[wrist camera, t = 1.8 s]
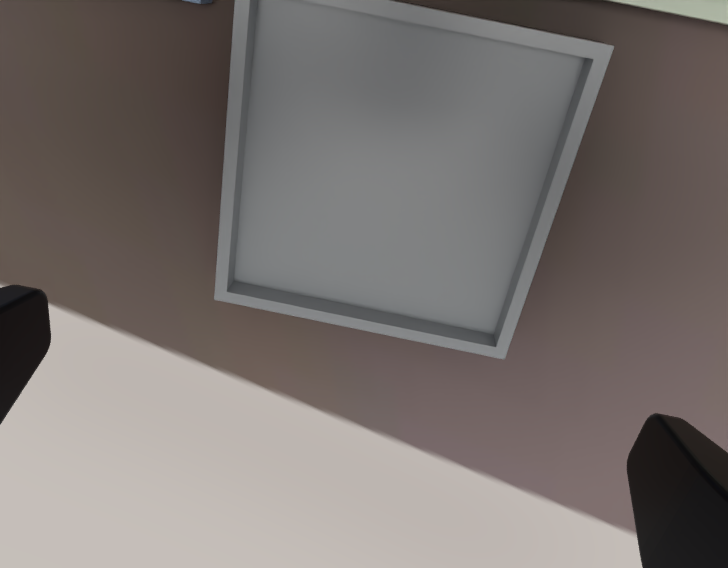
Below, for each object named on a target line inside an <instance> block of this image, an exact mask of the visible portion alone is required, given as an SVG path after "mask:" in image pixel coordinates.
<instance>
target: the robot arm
mask: <svg viewBox="0 0 728 568" xmlns="http://www.w3.org/2000/svg"><path fill="white" fill-rule="evenodd" d="M50 342H51V331H50V320H49V309H48V300H47V296H46V294H45V293H44V292H43V291H42V290H40V289H36V288H31V287H26V286H21V285H10V286H6V287H2V288H0V424H1V423H2V421H3V420H4V418H5V417H6V415H7V413H8V412H9V411H10V409H11V407H12V406H13V404H14V403H15V401H16V400H17V398H18V397H19V395H20V394H21V392H22V390H23V389H24V387H25V386H26V384H27V383H28V381H29V380H30V378H31V377H32V375H33V373H34V372H35V370H36V369H37V367H38V366H39V364H40V363H41V361H42V360H43V358H44V357H45V355H46V353H47V351H48V349H49V346H50ZM627 475H628V481H629V488H630V494H631V500H632V507H633V513H634V519H635V526H636V532H637V538H638V545H639V551H640V556H641V562H642V567H643V568H728V453H727V452H726V451H725V450H723V449H722V448H721V447H719V446H718V445H717V444H715V443H714V442H713V441H711V440H710V439H709V438H707V437H706V436H705V435H704V434H702V433H701V432H700V431H698V430H697V429H696V428H694V427H693V426H692V425H690V424H689V423H688V422H686V421H685V420H683V419H681V418H678V417H673V416H668V415H663V414H658V413H655V414H653V415H650V416H649V417H648V418H647V420H646V421H645V423H644V425H643V427H642V429H641V431H640V433H639V435H638V437H637V439H636V441H635V443H634V445H633V447H632V449H631V451H630V453H629V456H628V460H627Z"/></svg>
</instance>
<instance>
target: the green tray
mask: <svg viewBox="0 0 728 568" xmlns="http://www.w3.org/2000/svg"><path fill="white" fill-rule="evenodd" d="M604 1H609V2H614V3H619V4H624V5H629V6H634V7H639V8H644V9H649V10H654V11H659V12H664V13H669V14H674V15H679V16H684V17H689V18H694V19H699V20H704V21H709V22H714V23H719V24H723V25H728V0H604Z"/></svg>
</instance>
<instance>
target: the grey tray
mask: <svg viewBox="0 0 728 568" xmlns="http://www.w3.org/2000/svg"><path fill="white" fill-rule="evenodd" d="M613 49H614V46H613V45H610V44H607V43H604V42H599V41H594V40H589V39H584V38H580V37H575V36H570V35H565V34H560V33H555V32H550V31H545V30H540V29H535V28H530V27H525V26H520V25H515V24H510V23H505V22H500V21H495V20H490V19H485V18H481V17H476V16H471V15H466V14H461V13H456V12H451V11H446V10H441V9H436V8H431V7H426V6H421V5H416V4H411V3H406V2H401V1H396V0H235V5H234V19H233V34H232V49H231V63H230V78H229V92H228V107H227V121H226V136H225V150H224V165H223V179H222V194H221V208H220V223H219V237H218V252H217V266H216V281H215V295H214V300H219V301H223V302H228V303H233V304H238V305H243V306H248V307H253V308H257V309H262V310H267V311H272V312H277V313H282V314H286V315H291V316H296V317H301V318H306V319H311V320H316V321H320V322H325V323H330V324H335V325H340V326H345V327H349V328H354V329H359V330H364V331H369V332H374V333H378V334H383V335H388V336H393V337H398V338H403V339H408V340H412V341H417V342H422V343H427V344H432V345H437V346H441V347H446V348H451V349H456V350H461V351H466V352H470V353H475V354H480V355H485V356H490V357H495V358H500V359H505V357H506V354H507V351H508V348H509V345H510V342H511V339H512V337H513V334H514V331H515V328H516V325H517V322H518V320H519V317H520V314H521V311H522V308H523V305H524V302H525V300H526V297H527V294H528V291H529V288H530V285H531V282H532V280H533V277H534V274H535V271H536V268H537V265H538V263H539V260H540V257H541V254H542V251H543V248H544V245H545V243H546V240H547V237H548V234H549V231H550V228H551V225H552V223H553V220H554V217H555V214H556V211H557V208H558V205H559V203H560V200H561V197H562V194H563V191H564V188H565V186H566V183H567V180H568V177H569V174H570V171H571V168H572V166H573V163H574V160H575V157H576V154H577V151H578V148H579V146H580V143H581V140H582V137H583V134H584V131H585V129H586V126H587V123H588V120H589V117H590V114H591V111H592V109H593V106H594V103H595V100H596V97H597V94H598V91H599V89H600V86H601V83H602V80H603V77H604V74H605V72H606V69H607V66H608V63H609V60H610V57H611V54H612V52H613Z"/></svg>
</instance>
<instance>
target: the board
mask: <svg viewBox="0 0 728 568" xmlns="http://www.w3.org/2000/svg"><path fill="white" fill-rule="evenodd" d="M184 1H189V2H194V3H199V4H204V3H212V0H184Z"/></svg>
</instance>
